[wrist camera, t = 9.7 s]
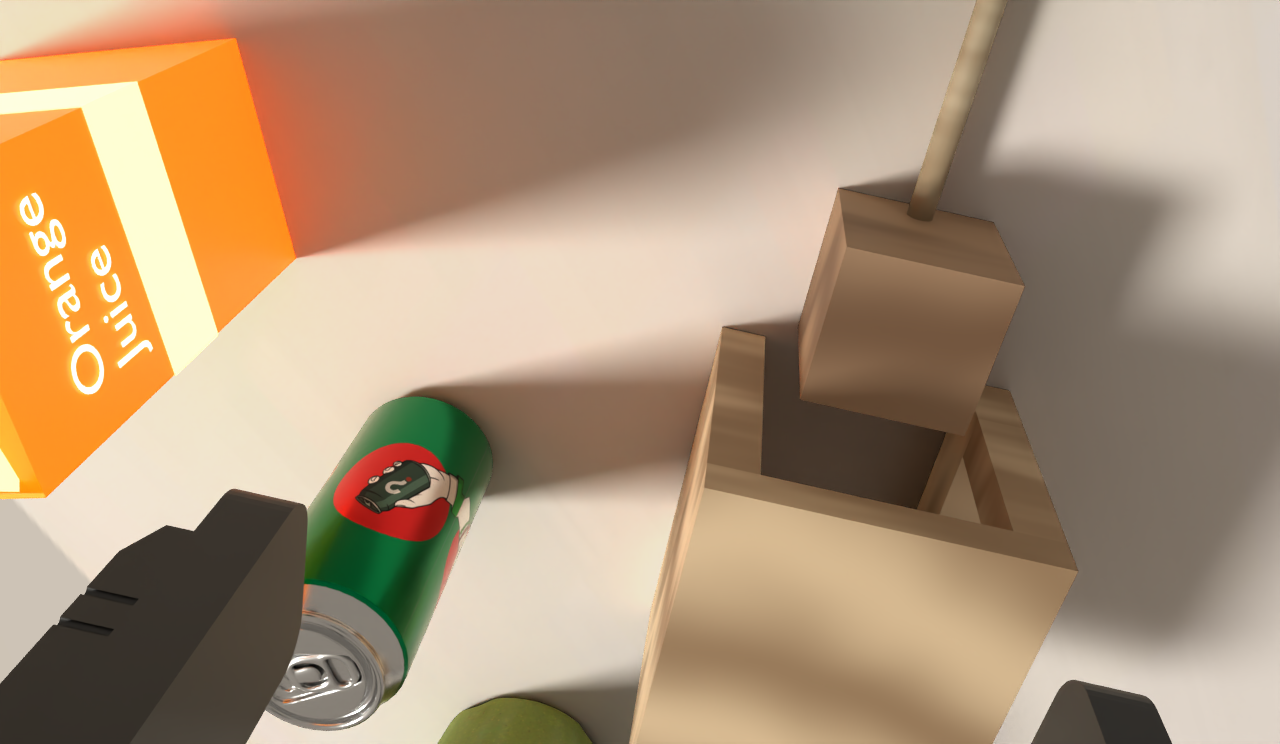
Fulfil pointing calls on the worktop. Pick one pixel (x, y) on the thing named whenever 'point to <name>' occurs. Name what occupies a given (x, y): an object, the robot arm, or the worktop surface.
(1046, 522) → the box
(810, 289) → the tethered block
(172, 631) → the robot arm
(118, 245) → the orange juice
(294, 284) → the worktop surface
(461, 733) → the plant pot
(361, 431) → the soda can
